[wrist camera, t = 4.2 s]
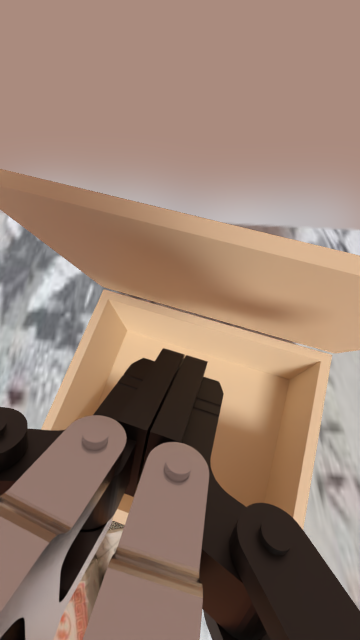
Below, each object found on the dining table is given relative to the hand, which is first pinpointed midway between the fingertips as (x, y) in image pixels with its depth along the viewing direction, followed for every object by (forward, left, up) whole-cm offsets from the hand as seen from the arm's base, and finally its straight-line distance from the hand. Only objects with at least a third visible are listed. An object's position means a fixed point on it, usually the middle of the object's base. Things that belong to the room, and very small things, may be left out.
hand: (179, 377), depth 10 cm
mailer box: (0, -1, -17) cm, 17 cm away
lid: (0, +5, -3) cm, 5 cm away
